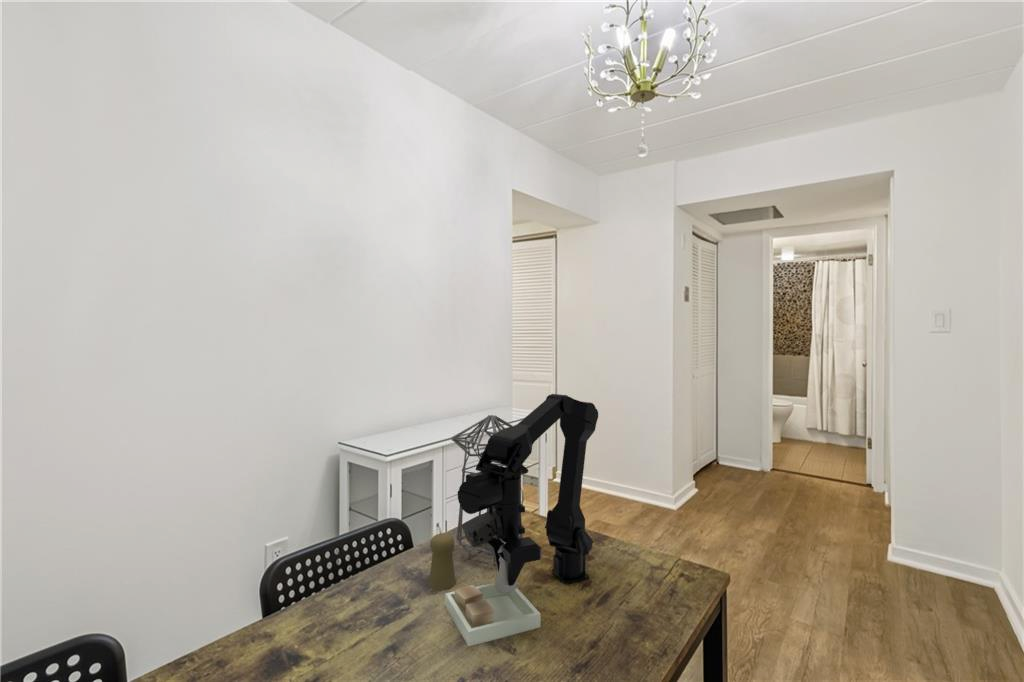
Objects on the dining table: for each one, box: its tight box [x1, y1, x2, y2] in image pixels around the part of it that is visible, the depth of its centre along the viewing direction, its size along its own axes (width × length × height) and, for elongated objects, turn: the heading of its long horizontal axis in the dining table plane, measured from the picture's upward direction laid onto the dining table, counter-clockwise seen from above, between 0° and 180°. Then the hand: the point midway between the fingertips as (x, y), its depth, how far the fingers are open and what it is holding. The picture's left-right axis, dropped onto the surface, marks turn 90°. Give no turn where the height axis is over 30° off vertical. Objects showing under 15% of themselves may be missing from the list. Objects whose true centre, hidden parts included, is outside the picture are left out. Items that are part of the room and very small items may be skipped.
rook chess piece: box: [494, 545, 518, 593], centre depth 96 cm, size 4×4×8 cm
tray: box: [444, 582, 542, 647], centre depth 95 cm, size 14×14×3 cm
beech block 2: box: [466, 600, 494, 628], centre depth 91 cm, size 4×4×4 cm
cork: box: [428, 532, 457, 591], centre depth 108 cm, size 6×6×11 cm
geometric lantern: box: [450, 414, 524, 567], centre depth 121 cm, size 16×16×35 cm
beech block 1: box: [454, 584, 483, 619], centre depth 96 cm, size 4×4×4 cm
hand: (506, 579), depth 96 cm, fingers closed on rook chess piece, 4 cm apart
